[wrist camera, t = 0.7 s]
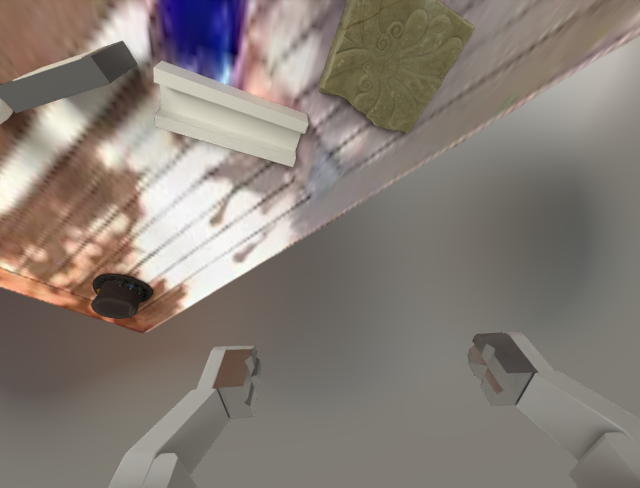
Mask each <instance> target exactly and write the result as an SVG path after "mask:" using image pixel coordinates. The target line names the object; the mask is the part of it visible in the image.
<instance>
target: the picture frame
mask: <svg viewBox="0 0 640 488" xmlns="http://www.w3.org/2000/svg"><path fill="white" fill-rule="evenodd" d="M136 64H137V63H136V61H135V60H134V58H133V56H132V55H131V53H130V52H129V50H128V48H127V47H126V45H125V44H124V42H123V41H120V42H117V43H114V44H111V45H108V46H105V47H101V48H98V49H96V50H93V51H90V52H87V53H84V54H81V55H78V56H75V57H72V58H69V59H66V60H63V61H60V62H57V63H54V64H51V65H48V66H45V67H42V68H39V69H37V70H35V71H32V72H30V73H28V74H25V75H23V76H21V77H18V78H16V79H14V80H12V81H9V82H7V83H5V84H2V85H0V98H1V99H2V100H3V101H4V102H5V103H6V104H7V105H8V106H9V107H10V108H11V109H12V110H13V111H14V112H15V113H19V112H22V111H25V110H28V109H31V108H34V107H37V106H40V105H44V104H47V103H50V102H53V101H56V100H59V99H62V98H65V97H68V96H72V95H75V94H78V93H81V92H84V91H87V90H90V89H93V88H97V87H100V86H103V85H106V84H109V83H111V82H112V81H114V80H115V79H117V78H118V77H119V76H121V75H122V74H124V73H125V72H126V71H128V70H129V69H131V68H132V67H133V66H135V65H136Z"/></svg>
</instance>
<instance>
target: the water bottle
mask: <svg viewBox="0 0 640 488" xmlns="http://www.w3.org/2000/svg"><path fill="white" fill-rule="evenodd" d="M0 85H1V84H0ZM12 112H13V110H12V109H11V108H10V107H9V106H8V105H7V104H6V103H5V102H4V101H3V100H2V99H1V98H0V124H1V123H2V122H4V121H6V120H7V119H8V118H9V117H10V116H11V115H12Z"/></svg>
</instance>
